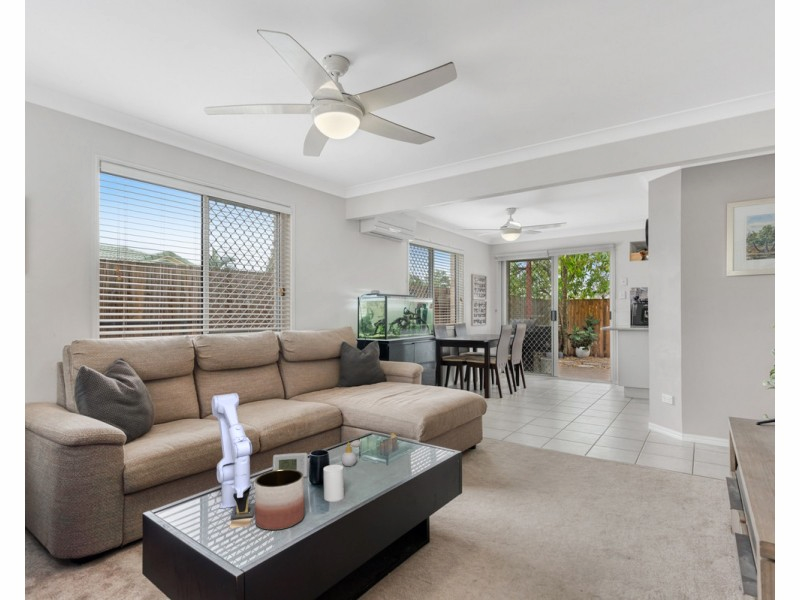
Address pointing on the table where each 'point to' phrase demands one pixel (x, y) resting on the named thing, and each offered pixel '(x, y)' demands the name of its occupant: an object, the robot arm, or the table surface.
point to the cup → (333, 483)
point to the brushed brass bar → (245, 509)
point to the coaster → (240, 523)
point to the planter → (279, 499)
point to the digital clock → (291, 462)
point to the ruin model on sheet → (388, 445)
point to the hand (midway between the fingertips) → (242, 509)
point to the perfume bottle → (350, 454)
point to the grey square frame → (243, 516)
